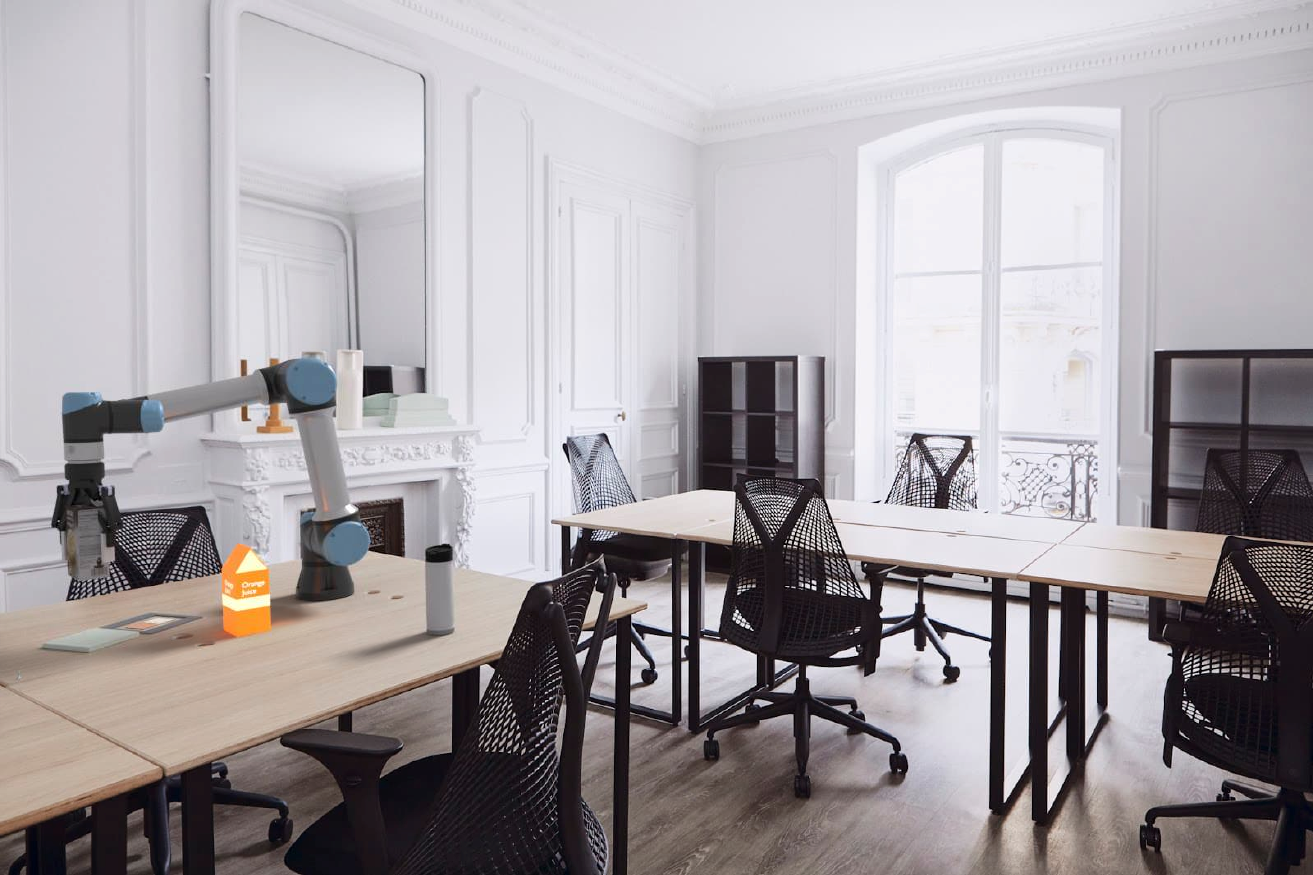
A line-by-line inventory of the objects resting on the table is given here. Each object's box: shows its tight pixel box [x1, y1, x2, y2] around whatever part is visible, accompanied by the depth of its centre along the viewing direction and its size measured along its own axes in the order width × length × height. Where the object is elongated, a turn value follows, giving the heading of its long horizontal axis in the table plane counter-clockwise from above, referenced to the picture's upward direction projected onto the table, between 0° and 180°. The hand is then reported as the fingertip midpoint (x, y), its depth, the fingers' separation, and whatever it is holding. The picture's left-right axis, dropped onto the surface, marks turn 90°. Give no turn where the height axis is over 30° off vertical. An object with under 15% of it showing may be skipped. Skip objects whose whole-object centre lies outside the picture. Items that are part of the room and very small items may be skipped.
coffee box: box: [65, 504, 111, 582], centre depth 200 cm, size 9×6×16 cm
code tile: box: [99, 612, 203, 635], centre depth 216 cm, size 16×15×1 cm
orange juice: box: [221, 543, 272, 638], centre depth 209 cm, size 8×9×20 cm
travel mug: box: [424, 543, 455, 636], centre depth 206 cm, size 6×7×20 cm
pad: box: [42, 627, 140, 653], centre depth 201 cm, size 13×13×1 cm
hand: (88, 560), depth 200 cm, fingers closed on coffee box, 10 cm apart
